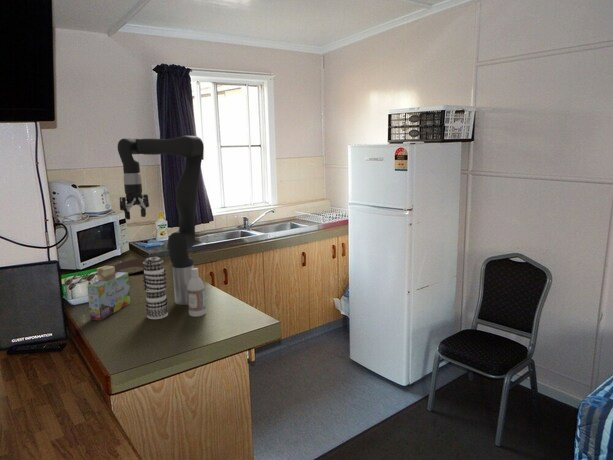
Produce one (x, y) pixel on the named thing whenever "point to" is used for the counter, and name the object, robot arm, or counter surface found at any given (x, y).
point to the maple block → (106, 273)
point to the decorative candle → (155, 288)
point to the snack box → (108, 296)
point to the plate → (130, 264)
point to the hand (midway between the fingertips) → (135, 218)
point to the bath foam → (196, 295)
